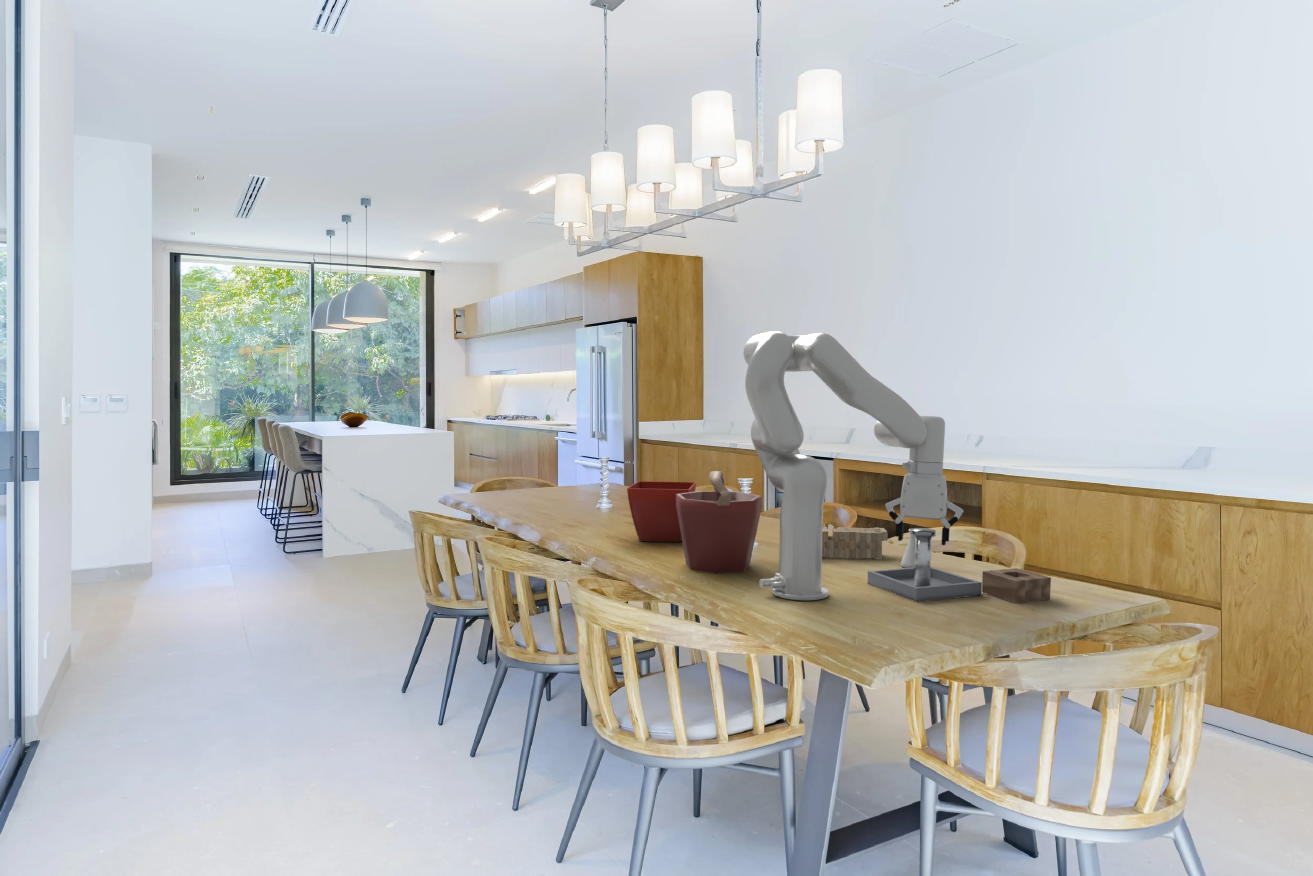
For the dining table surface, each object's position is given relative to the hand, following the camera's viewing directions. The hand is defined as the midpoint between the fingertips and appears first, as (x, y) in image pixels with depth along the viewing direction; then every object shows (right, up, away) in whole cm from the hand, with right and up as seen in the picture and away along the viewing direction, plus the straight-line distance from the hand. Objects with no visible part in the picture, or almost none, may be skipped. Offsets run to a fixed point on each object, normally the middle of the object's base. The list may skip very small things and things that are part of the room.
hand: (921, 542), depth 188 cm
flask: (+6, -10, +25) cm, 28 cm away
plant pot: (-60, -7, +63) cm, 88 cm away
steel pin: (0, -10, +1) cm, 10 cm away
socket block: (+20, -12, -5) cm, 23 cm away
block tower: (-12, -9, +40) cm, 43 cm away
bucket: (-47, -10, +24) cm, 53 cm away
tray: (0, -11, +1) cm, 11 cm away
